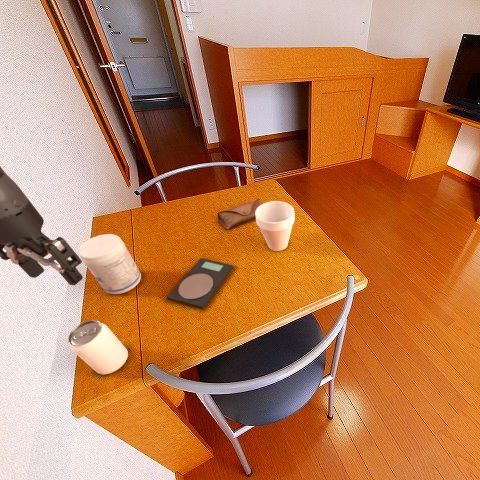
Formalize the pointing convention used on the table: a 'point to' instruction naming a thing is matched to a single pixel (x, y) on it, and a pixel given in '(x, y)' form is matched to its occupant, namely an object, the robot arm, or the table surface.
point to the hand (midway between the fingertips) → (57, 278)
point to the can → (98, 347)
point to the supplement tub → (110, 263)
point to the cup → (275, 223)
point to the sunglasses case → (239, 214)
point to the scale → (200, 283)
